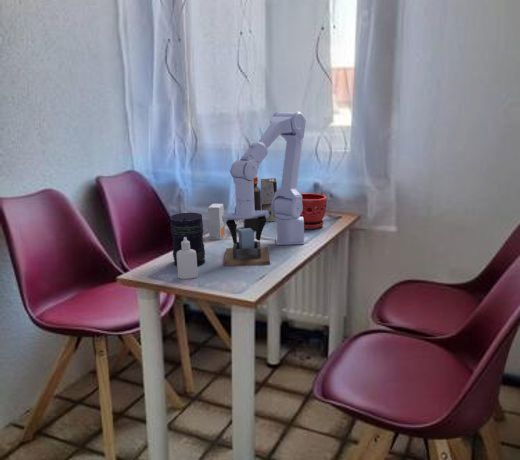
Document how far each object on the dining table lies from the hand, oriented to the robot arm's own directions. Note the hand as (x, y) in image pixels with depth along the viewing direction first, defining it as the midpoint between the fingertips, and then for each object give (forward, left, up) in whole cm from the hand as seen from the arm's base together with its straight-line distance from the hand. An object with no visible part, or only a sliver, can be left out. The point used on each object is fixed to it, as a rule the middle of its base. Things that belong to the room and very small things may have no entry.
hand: (246, 241), depth 151 cm
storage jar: (+18, +3, -6) cm, 19 cm away
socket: (0, 0, -5) cm, 5 cm away
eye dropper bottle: (+17, +15, -6) cm, 23 cm away
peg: (0, 0, -4) cm, 4 cm away
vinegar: (-2, -33, -6) cm, 34 cm away
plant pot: (-24, -34, -6) cm, 42 cm away
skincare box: (+11, -23, -6) cm, 26 cm away
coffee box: (-9, -47, -6) cm, 48 cm away
